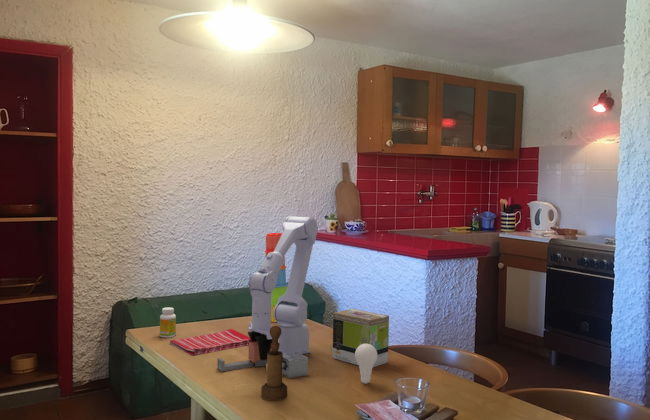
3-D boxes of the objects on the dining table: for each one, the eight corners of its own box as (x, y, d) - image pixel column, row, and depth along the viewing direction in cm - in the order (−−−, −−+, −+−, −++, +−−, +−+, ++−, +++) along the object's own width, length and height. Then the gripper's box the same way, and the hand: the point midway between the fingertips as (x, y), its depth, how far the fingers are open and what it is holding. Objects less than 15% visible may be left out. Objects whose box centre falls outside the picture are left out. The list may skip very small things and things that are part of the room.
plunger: (282, 368, 161) (283, 359, 161) (286, 371, 159) (287, 362, 159) (266, 371, 158) (266, 361, 158) (269, 373, 156) (270, 364, 156)
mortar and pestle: (266, 402, 140) (268, 330, 139) (257, 393, 145) (258, 324, 145) (291, 398, 143) (292, 327, 142) (281, 389, 148) (282, 322, 148)
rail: (273, 360, 173) (274, 350, 173) (278, 363, 170) (278, 353, 170) (217, 368, 164) (217, 358, 164) (221, 371, 161) (221, 361, 161)
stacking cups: (281, 323, 219) (283, 234, 217) (259, 320, 223) (260, 233, 222) (294, 318, 228) (296, 233, 227) (272, 315, 232) (273, 231, 231)
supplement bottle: (171, 338, 195) (171, 310, 194) (156, 337, 196) (157, 309, 196) (178, 334, 200) (178, 307, 200) (164, 333, 201) (164, 306, 201)
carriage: (266, 359, 173) (266, 339, 172) (272, 364, 169) (272, 343, 168) (248, 362, 170) (248, 342, 169) (253, 367, 166) (254, 346, 165)
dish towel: (256, 345, 191) (256, 337, 191) (192, 358, 176) (192, 349, 175) (230, 334, 204) (230, 327, 204) (168, 345, 189) (169, 337, 189)
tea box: (389, 362, 173) (390, 315, 173) (368, 369, 166) (370, 320, 165) (351, 352, 184) (352, 307, 183) (331, 358, 176) (332, 311, 176)
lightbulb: (370, 389, 150) (371, 348, 150) (350, 384, 153) (351, 344, 153) (380, 382, 155) (381, 343, 155) (360, 378, 159) (361, 339, 158)
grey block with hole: (298, 368, 165) (298, 352, 165) (307, 375, 160) (308, 357, 160) (279, 371, 162) (279, 354, 162) (288, 378, 157) (289, 360, 157)
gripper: (240, 308, 173) (239, 352, 173) (258, 318, 160) (258, 365, 161) (261, 306, 176) (260, 349, 177) (281, 316, 164) (280, 362, 164)
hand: (260, 357), depth 169 cm, fingers closed on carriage, 4 cm apart
